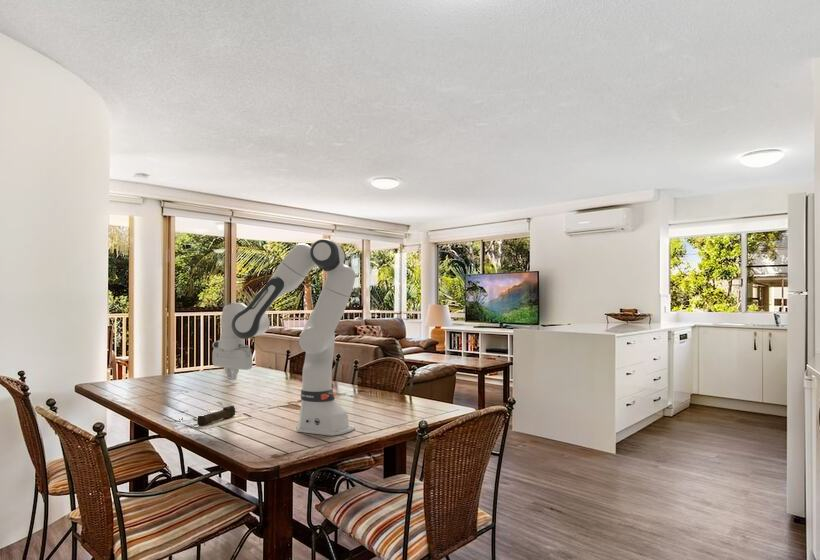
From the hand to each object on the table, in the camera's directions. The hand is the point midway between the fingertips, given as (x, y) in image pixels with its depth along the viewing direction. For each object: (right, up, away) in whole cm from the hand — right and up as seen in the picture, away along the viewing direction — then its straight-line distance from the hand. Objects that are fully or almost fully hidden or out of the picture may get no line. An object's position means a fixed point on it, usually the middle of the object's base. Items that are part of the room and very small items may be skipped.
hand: (231, 379), depth 192 cm
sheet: (-13, -17, +7) cm, 23 cm away
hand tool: (-7, -17, +4) cm, 19 cm away
